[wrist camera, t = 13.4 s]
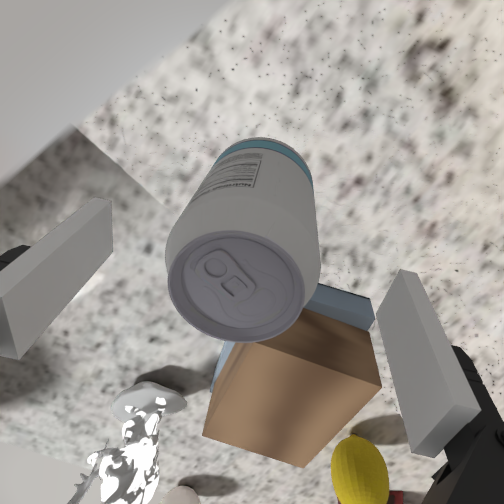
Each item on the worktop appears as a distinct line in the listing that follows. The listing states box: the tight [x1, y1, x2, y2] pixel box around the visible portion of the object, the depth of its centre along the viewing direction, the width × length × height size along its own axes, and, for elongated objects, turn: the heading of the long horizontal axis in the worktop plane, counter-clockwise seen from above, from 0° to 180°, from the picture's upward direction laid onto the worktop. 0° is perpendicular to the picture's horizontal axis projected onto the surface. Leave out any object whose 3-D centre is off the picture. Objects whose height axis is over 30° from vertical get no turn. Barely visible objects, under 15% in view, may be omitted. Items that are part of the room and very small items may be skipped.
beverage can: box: [165, 137, 321, 343], centre depth 19 cm, size 7×7×12 cm
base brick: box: [210, 283, 375, 393], centre depth 31 cm, size 10×14×3 cm
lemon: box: [331, 434, 389, 504], centre depth 35 cm, size 6×6×8 cm
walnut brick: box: [202, 308, 382, 468], centre depth 27 cm, size 9×12×5 cm
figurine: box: [68, 381, 187, 504], centre depth 33 cm, size 9×6×12 cm
